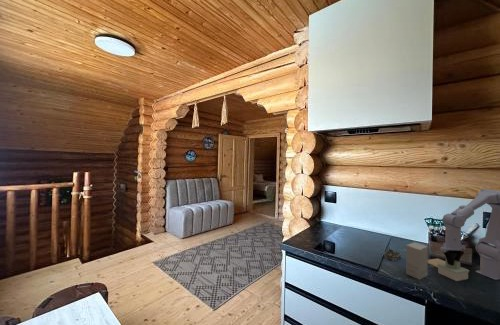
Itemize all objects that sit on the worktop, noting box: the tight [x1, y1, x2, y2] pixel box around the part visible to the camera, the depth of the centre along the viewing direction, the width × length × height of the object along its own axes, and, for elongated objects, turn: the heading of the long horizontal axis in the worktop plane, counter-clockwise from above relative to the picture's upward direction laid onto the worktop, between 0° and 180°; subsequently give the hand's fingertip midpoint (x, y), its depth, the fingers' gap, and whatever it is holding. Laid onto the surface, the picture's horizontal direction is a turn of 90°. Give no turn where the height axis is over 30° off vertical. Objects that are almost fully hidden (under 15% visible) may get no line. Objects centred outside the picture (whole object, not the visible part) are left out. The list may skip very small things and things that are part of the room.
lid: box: [437, 257, 470, 274], centre depth 108 cm, size 9×9×5 cm
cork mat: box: [428, 257, 445, 269], centre depth 119 cm, size 11×11×1 cm
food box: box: [437, 266, 469, 282], centre depth 108 cm, size 8×8×4 cm
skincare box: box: [405, 242, 429, 280], centre depth 108 cm, size 8×7×16 cm
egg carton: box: [382, 247, 402, 262], centre depth 128 cm, size 11×8×4 cm
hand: (452, 264), depth 107 cm, fingers closed on lid, 2 cm apart
